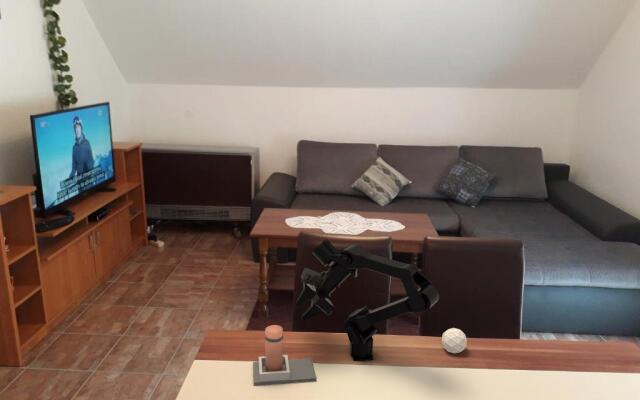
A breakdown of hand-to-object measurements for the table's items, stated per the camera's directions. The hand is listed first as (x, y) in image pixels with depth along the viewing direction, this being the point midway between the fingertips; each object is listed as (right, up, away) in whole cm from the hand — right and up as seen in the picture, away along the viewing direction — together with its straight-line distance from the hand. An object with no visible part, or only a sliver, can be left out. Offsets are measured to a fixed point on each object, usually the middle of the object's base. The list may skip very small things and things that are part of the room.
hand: (299, 311), depth 158 cm
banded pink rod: (-7, -16, -9) cm, 19 cm away
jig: (-4, -16, -8) cm, 19 cm away
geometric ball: (+49, -14, +5) cm, 52 cm away
